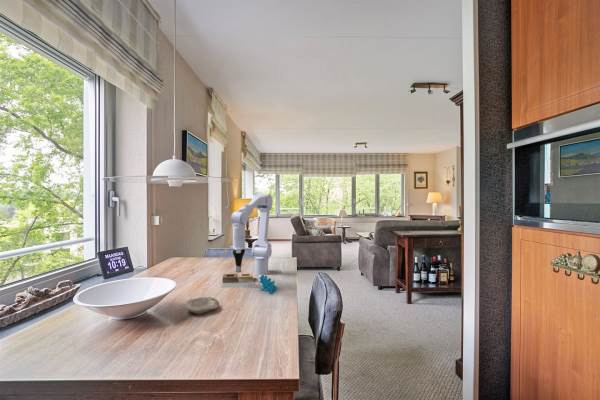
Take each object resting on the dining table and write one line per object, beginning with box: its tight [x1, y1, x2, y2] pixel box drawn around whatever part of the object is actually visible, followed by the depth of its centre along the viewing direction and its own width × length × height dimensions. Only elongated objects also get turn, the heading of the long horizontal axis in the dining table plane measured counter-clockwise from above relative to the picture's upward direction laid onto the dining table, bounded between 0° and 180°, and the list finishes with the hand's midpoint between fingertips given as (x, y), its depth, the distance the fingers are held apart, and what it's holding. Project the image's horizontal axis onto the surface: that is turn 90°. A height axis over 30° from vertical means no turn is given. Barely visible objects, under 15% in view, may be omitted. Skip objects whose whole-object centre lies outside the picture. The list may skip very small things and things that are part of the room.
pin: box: [235, 265, 242, 274], centre depth 142 cm, size 2×2×8 cm
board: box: [221, 276, 255, 288], centre depth 147 cm, size 16×15×1 cm
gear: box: [259, 274, 278, 295], centre depth 134 cm, size 11×6×10 cm
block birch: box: [238, 272, 254, 282], centre depth 150 cm, size 7×7×2 cm
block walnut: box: [222, 273, 239, 283], centre depth 149 cm, size 7×7×2 cm
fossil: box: [185, 296, 220, 315], centre depth 112 cm, size 11×12×3 cm
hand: (238, 265), depth 142 cm, fingers closed on pin, 2 cm apart
